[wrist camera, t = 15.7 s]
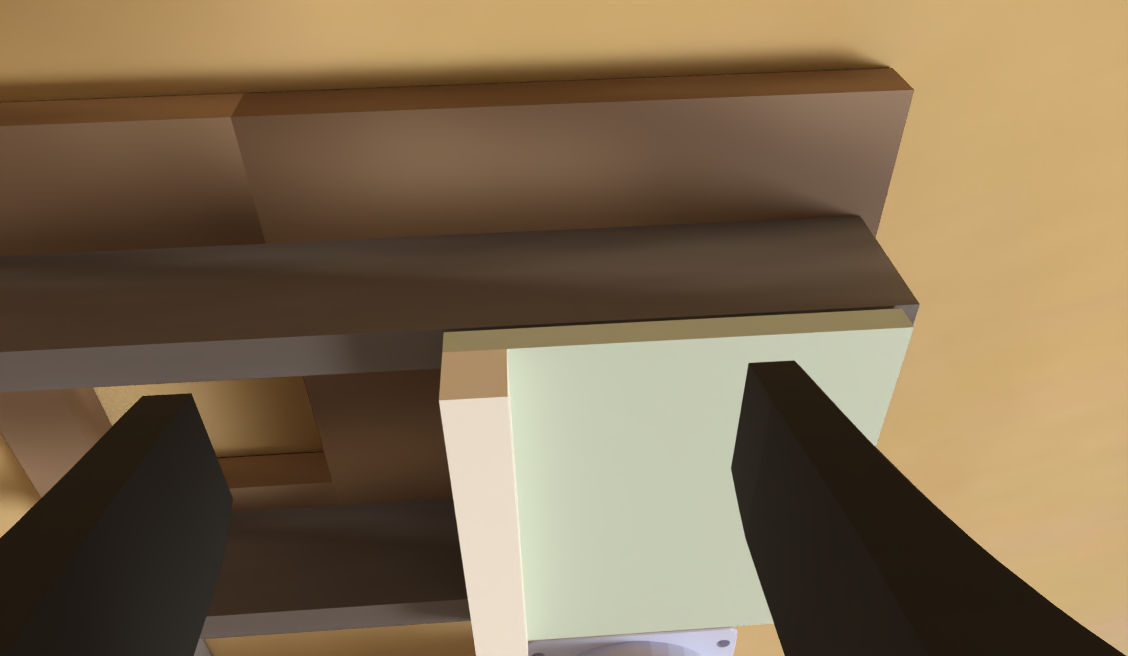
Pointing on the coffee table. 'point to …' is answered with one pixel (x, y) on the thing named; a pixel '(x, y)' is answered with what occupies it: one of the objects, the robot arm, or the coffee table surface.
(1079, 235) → the coffee table surface
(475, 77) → the coffee table surface
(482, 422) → the cover
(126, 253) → the board
